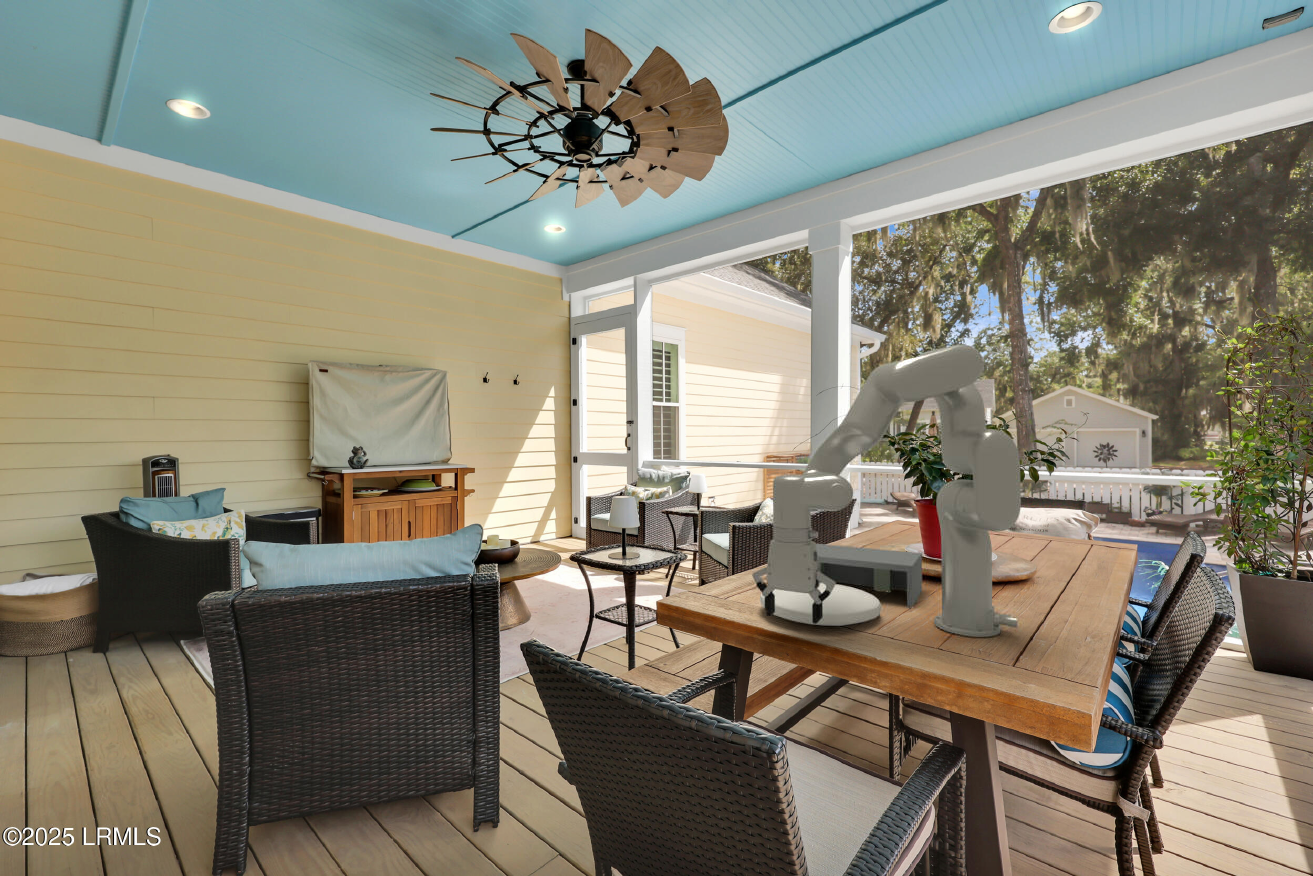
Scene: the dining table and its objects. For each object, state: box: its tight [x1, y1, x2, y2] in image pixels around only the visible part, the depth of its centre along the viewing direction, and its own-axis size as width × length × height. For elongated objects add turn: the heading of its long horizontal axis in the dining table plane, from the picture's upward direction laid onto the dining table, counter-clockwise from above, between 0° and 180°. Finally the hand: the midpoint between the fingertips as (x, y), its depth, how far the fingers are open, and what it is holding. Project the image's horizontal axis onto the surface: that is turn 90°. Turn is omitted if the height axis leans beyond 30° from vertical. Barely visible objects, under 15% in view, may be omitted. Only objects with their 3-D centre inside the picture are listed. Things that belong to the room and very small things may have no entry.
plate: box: [759, 583, 882, 627], centre depth 136 cm, size 28×6×27 cm
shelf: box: [767, 543, 923, 608], centre depth 155 cm, size 36×16×10 cm, turn 58°
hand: (793, 617), depth 120 cm, fingers open, 9 cm apart
